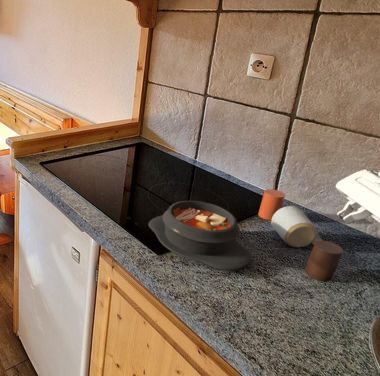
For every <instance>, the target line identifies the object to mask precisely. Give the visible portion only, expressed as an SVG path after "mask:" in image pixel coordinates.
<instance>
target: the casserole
mask: <svg viewBox="0 0 380 376" xmlns="http://www.w3.org/2000/svg"><path fill="white" fill-rule="evenodd" d="M147 225H148V228H149V229H150V230H151V231H152V232H153V233H154V234H155V236H156V238H157V239H158V241H159V243H161V245H162V246H163V247H164V248H166V249H167V250H169V251H170V252H172V253H174V254H176V255H178V256H180V257H182V258H185V259H189V260H193V261H196V262H200V263H202V264H205V265H207V266H209V267H212V268H215V269H219V270H223V271H224V270H227V271H228V270H230V271H231V270H238V269H241V268H244V267H246V266H248V265H249V264H250V263H251V261H252V260H253V255H252V253H251V251H249V249H247V248H246V247H245V246H243V245H242V244H241V243H239V241H238V240H237V238H238V237H239V236H240V233H241V229H240V226H239V225H238V220H237V218H236V216H235V215H234V214H233V213H231V211H229V210H228V209H226V208H224V207H222V206H219V205H216V204H213V203H209V202H205V201H199V200H182V201H178V202H175V203H172V204H171V205H170V206H169V207H168V208H167V210H166V211H164V212H163V214H162V215H158V216H156V217H153V218H152V219H151V220H149V222H148V224H147Z"/></svg>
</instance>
